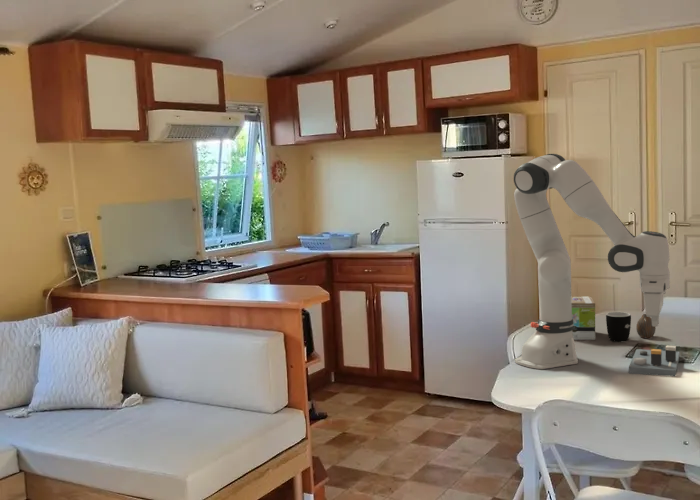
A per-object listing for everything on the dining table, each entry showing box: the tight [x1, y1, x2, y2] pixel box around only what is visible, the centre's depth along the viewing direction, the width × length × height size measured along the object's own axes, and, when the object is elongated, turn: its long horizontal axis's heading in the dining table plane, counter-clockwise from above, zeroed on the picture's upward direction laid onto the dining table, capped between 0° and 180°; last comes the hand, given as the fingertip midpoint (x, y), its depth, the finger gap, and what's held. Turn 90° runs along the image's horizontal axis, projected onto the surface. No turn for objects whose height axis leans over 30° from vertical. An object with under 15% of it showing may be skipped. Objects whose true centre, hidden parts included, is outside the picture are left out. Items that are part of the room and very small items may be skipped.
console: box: [628, 348, 681, 377], centre depth 255 cm, size 24×14×4 cm, turn 154°
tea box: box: [571, 296, 596, 341], centre depth 300 cm, size 15×10×15 cm, turn 168°
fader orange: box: [650, 348, 663, 365], centre depth 248 cm, size 2×3×4 cm
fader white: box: [665, 345, 677, 361], centre depth 251 cm, size 2×3×4 cm
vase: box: [636, 313, 656, 339], centre depth 293 cm, size 7×7×9 cm
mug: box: [605, 311, 632, 343], centre depth 291 cm, size 12×9×10 cm
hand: (655, 325), depth 242 cm, fingers closed
